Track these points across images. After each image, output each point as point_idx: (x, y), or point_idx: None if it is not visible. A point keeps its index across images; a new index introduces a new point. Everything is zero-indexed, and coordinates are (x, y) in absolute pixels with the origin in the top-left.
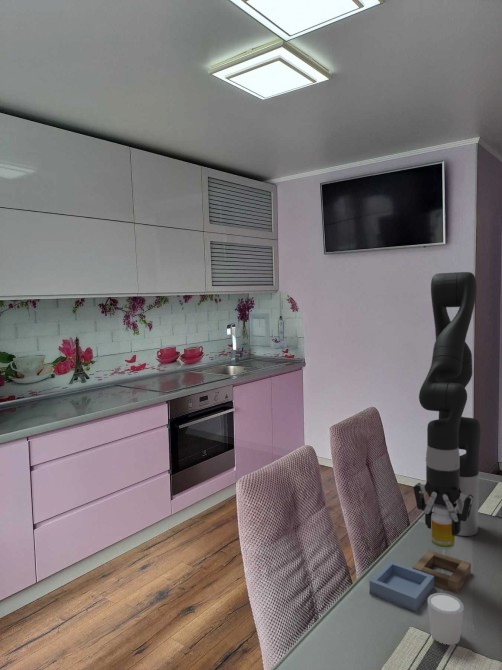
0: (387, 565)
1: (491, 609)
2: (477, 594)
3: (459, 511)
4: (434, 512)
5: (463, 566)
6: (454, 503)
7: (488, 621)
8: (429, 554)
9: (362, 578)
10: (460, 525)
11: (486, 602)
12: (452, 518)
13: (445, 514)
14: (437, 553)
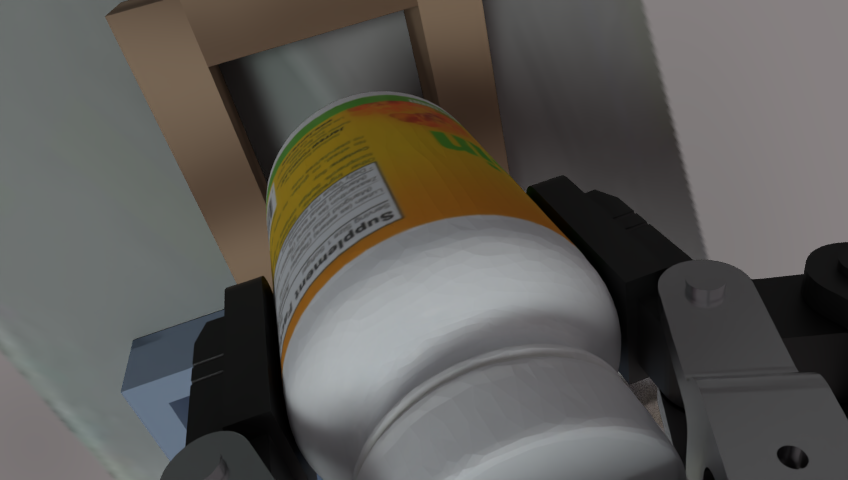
0: (164, 432)
1: (661, 162)
2: (572, 109)
3: (776, 341)
4: (347, 469)
5: (453, 13)
6: (784, 467)
7: (672, 241)
8: (177, 80)
9: (112, 475)
10: (656, 240)
11: (628, 132)
12: (618, 359)
13: None
14: (200, 5)
